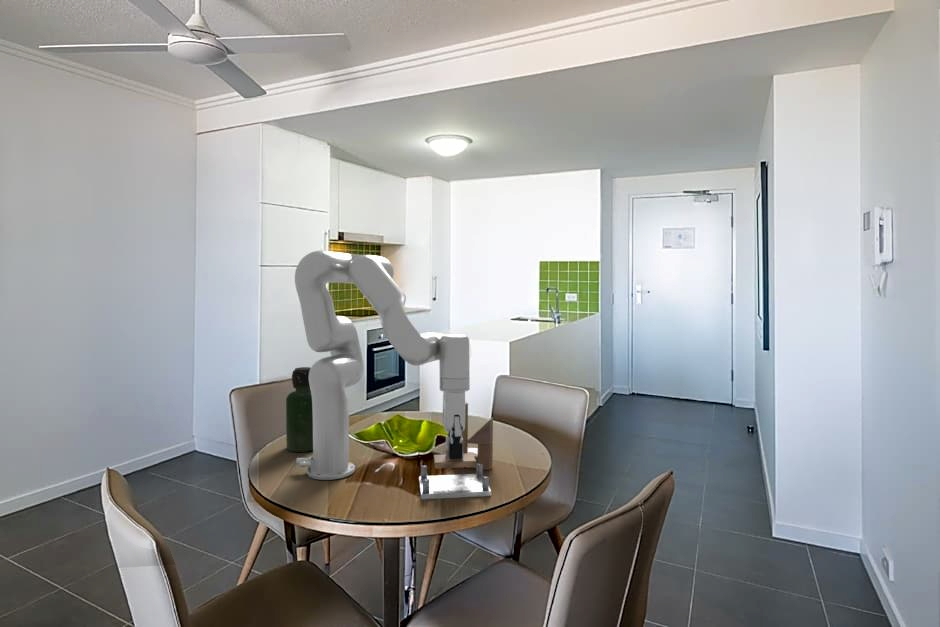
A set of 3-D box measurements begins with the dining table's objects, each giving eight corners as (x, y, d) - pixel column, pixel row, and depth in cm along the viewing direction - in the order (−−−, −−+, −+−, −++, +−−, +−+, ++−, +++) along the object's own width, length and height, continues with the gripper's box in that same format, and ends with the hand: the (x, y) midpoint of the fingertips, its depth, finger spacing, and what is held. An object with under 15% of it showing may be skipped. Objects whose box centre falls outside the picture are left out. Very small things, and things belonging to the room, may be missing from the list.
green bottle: (321, 441, 172) (321, 365, 170) (321, 451, 162) (320, 370, 160) (288, 444, 169) (287, 366, 168) (285, 454, 159) (284, 371, 158)
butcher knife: (458, 467, 150) (458, 463, 150) (461, 450, 165) (461, 447, 165) (476, 467, 150) (476, 463, 150) (478, 451, 165) (478, 447, 165)
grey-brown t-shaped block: (435, 468, 130) (435, 442, 129) (433, 460, 135) (433, 435, 135) (475, 466, 131) (475, 440, 131) (472, 458, 137) (472, 434, 136)
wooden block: (489, 470, 146) (490, 406, 145) (452, 467, 149) (453, 404, 148) (492, 466, 150) (493, 403, 149) (456, 462, 153) (456, 401, 152)
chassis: (421, 499, 126) (421, 482, 126) (419, 480, 138) (419, 464, 138) (491, 495, 129) (491, 479, 129) (483, 477, 141) (483, 462, 140)
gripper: (437, 378, 140) (437, 446, 141) (442, 390, 123) (442, 467, 124) (465, 377, 141) (465, 445, 142) (474, 389, 124) (474, 466, 125)
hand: (454, 455), depth 133 cm, fingers closed on grey-brown t-shaped block, 4 cm apart
